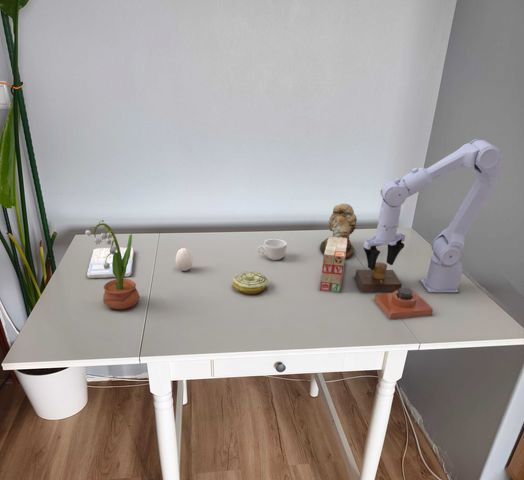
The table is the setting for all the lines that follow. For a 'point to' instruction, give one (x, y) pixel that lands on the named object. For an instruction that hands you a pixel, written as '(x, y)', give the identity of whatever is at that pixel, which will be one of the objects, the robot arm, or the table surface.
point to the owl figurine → (342, 226)
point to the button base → (402, 305)
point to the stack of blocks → (333, 264)
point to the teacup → (274, 248)
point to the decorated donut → (250, 282)
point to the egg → (184, 259)
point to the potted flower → (117, 273)
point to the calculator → (99, 259)
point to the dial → (379, 270)
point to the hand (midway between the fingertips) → (380, 266)
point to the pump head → (405, 293)
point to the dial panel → (377, 282)
